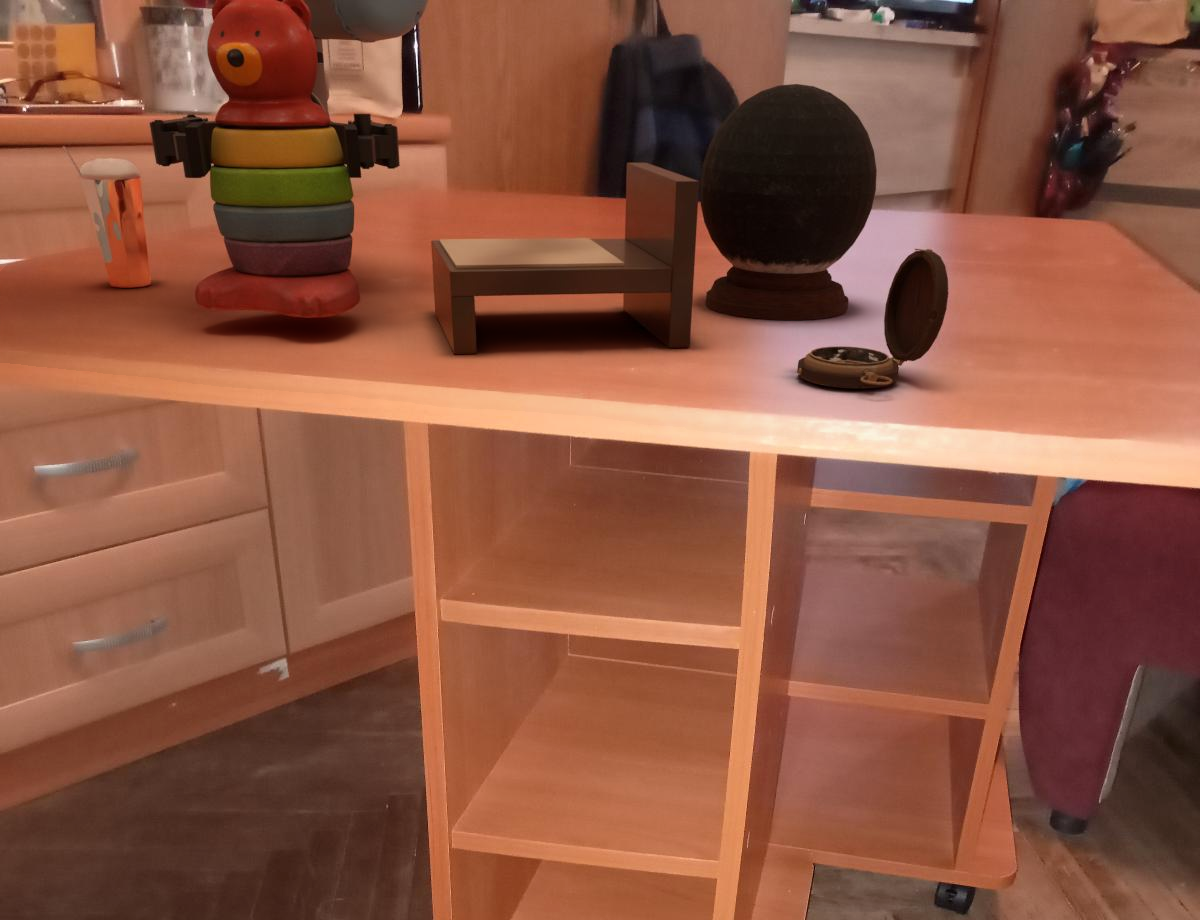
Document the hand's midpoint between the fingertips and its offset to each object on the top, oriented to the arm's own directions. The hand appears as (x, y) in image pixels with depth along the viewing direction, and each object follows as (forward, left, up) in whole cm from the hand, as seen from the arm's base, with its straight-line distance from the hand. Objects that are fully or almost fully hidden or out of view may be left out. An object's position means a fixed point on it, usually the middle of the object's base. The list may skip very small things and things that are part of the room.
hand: (275, 153), depth 72 cm
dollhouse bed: (+18, +1, -11) cm, 21 cm away
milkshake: (-14, +23, -11) cm, 29 cm away
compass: (+34, -17, -11) cm, 40 cm away
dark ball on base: (+37, +8, -11) cm, 39 cm away
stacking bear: (0, +4, -10) cm, 11 cm away
